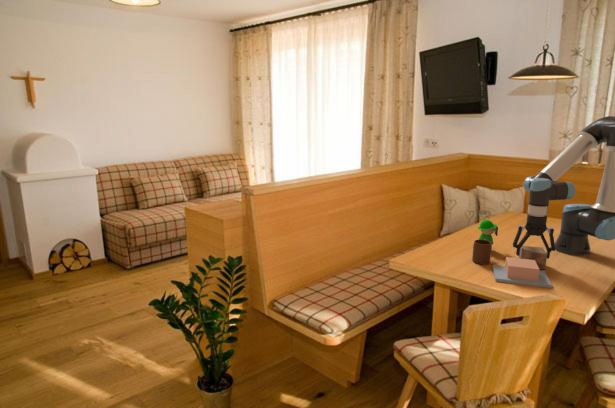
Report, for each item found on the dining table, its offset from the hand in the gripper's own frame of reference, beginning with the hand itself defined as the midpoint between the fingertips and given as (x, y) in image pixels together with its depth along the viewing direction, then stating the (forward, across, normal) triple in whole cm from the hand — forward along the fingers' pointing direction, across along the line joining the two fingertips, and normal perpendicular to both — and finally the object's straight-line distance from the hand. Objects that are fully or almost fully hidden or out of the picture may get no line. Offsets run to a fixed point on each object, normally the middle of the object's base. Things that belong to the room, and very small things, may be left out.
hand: (531, 263), depth 188 cm
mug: (+1, +20, 0) cm, 20 cm away
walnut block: (0, 0, 0) cm, 0 cm away
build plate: (+1, +6, +16) cm, 17 cm away
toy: (+1, +18, -17) cm, 25 cm away
